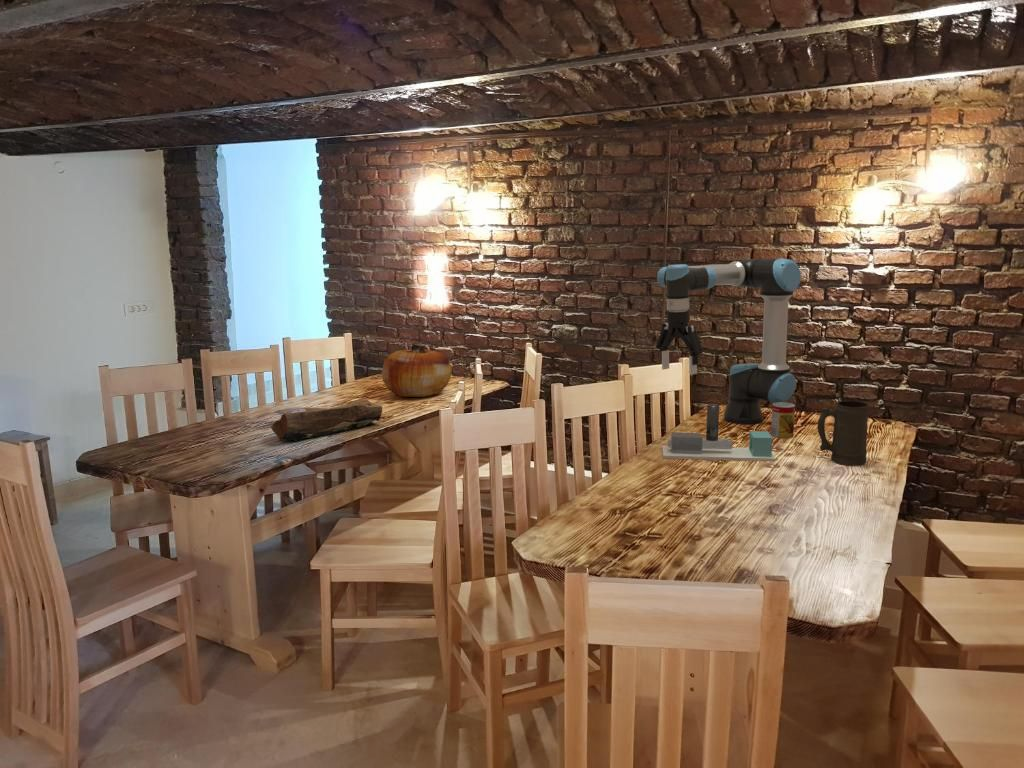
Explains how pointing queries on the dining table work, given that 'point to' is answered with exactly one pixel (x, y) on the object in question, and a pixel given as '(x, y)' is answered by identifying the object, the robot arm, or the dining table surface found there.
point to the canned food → (782, 420)
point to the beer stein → (846, 432)
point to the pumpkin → (416, 372)
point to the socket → (760, 444)
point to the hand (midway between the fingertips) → (679, 371)
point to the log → (326, 420)
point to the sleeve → (686, 443)
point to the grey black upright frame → (712, 431)
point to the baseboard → (717, 455)
